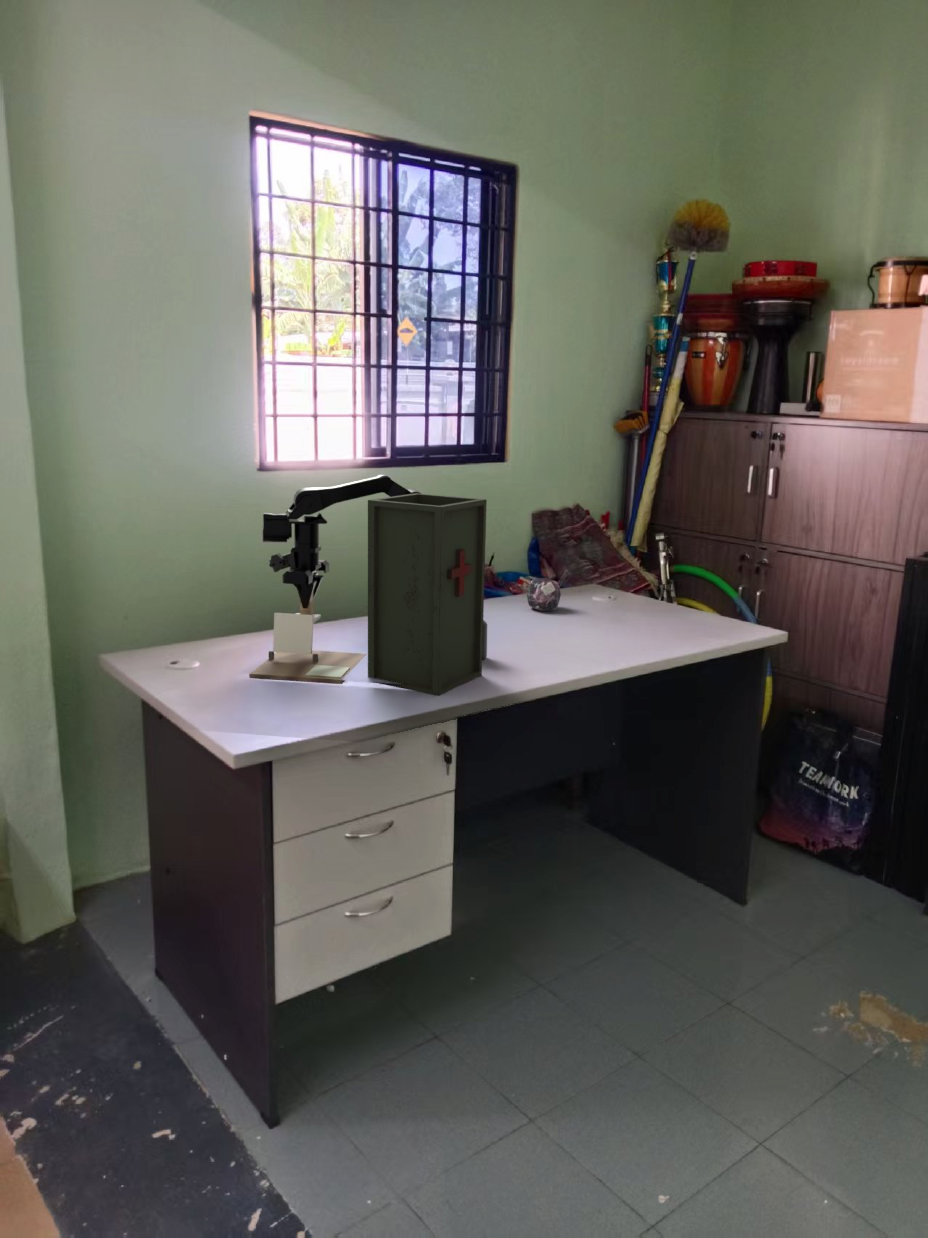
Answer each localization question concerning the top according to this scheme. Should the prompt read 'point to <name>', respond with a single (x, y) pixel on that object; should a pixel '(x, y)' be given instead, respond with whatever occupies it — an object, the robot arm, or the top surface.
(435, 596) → the first aid box
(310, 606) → the stamp
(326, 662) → the board
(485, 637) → the supplement bottle
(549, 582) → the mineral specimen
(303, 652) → the tile
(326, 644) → the top surface
